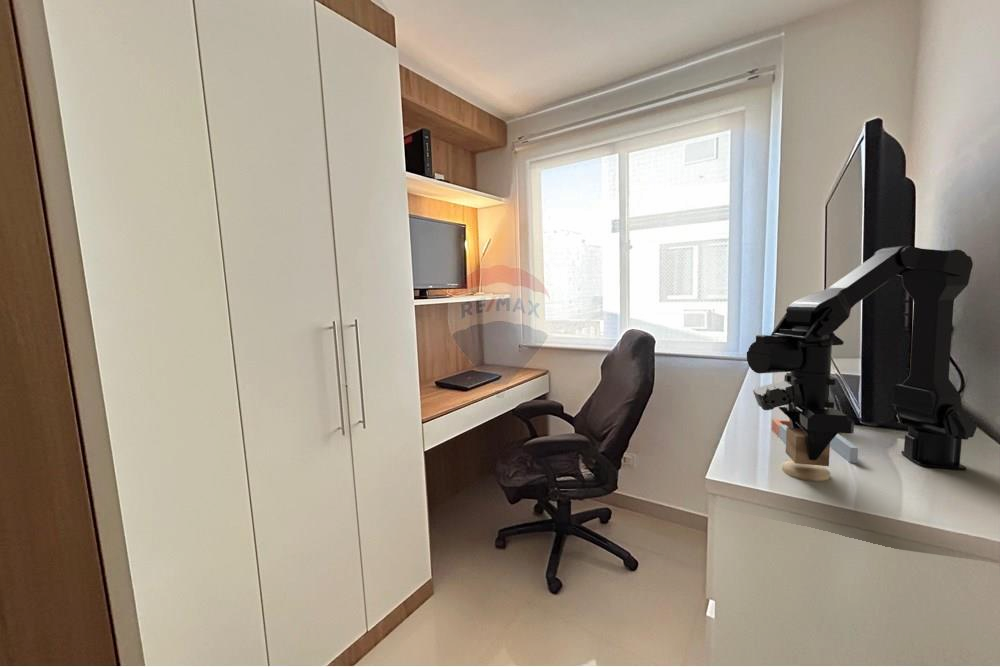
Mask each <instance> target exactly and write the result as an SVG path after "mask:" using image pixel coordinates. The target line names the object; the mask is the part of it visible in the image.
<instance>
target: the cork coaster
mask: <svg viewBox="0 0 1000 667" xmlns="http://www.w3.org/2000/svg"><path fill="white" fill-rule="evenodd" d="M781 470H782V472H784V473H785V474H787V475H789V476H790V477H792V478H796V479H799V480H803V481H808V482H820V483H821V482H827V481H829V480H831V472H830V470H828V469H827V468H825V466H820V465H808V464H797V463H794V461H793V460H786V461H783V462H782V466H781Z"/></svg>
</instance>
